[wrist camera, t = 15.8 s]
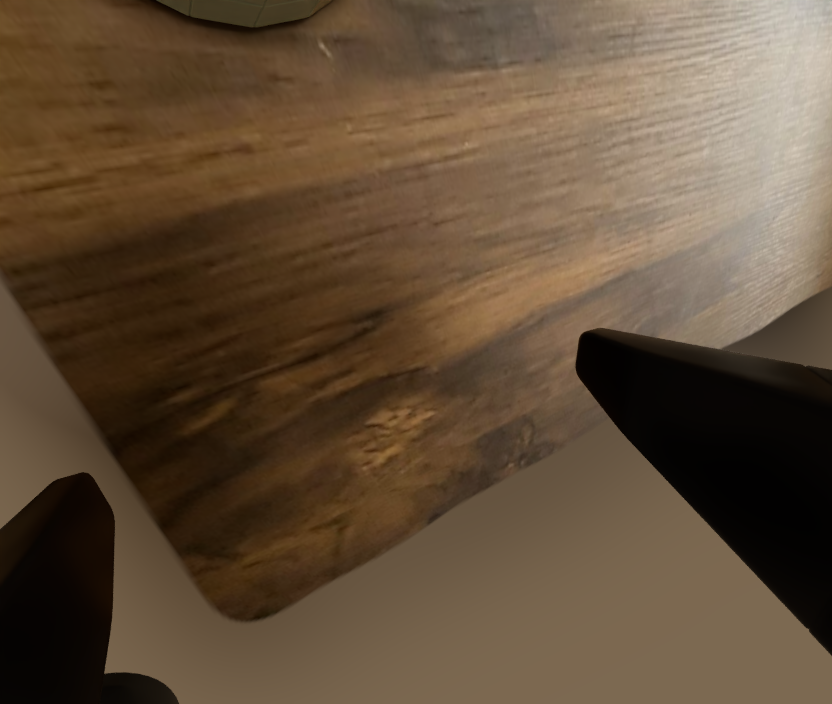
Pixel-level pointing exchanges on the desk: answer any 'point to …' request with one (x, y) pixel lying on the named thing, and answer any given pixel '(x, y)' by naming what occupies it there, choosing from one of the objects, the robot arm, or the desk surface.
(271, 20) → the shallow bowl
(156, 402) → the desk surface
